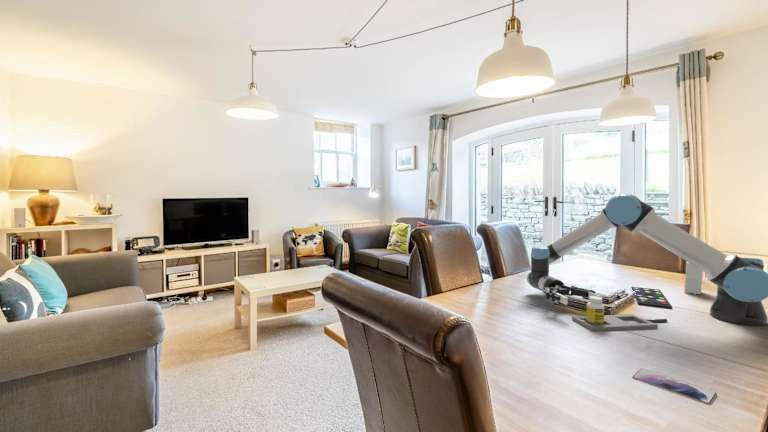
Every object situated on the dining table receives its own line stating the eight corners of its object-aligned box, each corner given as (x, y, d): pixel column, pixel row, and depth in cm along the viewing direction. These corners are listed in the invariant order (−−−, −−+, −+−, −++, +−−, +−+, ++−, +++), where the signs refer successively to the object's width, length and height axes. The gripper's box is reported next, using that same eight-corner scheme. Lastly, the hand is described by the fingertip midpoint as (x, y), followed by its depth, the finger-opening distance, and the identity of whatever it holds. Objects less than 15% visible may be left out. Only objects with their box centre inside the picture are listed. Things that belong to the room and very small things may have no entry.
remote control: (638, 306, 148) (638, 301, 148) (631, 289, 175) (631, 285, 174) (671, 310, 143) (672, 305, 143) (659, 292, 169) (659, 288, 169)
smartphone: (710, 404, 77) (631, 376, 89) (710, 407, 77) (631, 379, 89) (717, 392, 82) (641, 367, 93) (717, 395, 82) (641, 370, 94)
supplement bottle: (595, 328, 123) (595, 300, 122) (582, 322, 128) (583, 296, 127) (607, 326, 124) (608, 299, 124) (594, 321, 129) (595, 294, 129)
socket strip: (653, 316, 134) (653, 312, 134) (680, 327, 123) (680, 322, 123) (572, 319, 131) (572, 315, 131) (592, 331, 120) (592, 326, 120)
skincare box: (684, 289, 172) (685, 259, 171) (701, 291, 168) (702, 260, 167) (684, 293, 165) (685, 261, 165) (701, 295, 161) (702, 263, 161)
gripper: (578, 293, 154) (614, 309, 133) (523, 295, 152) (551, 311, 130) (579, 276, 153) (615, 289, 132) (524, 278, 151) (552, 291, 130)
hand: (584, 300), depth 131 cm, fingers open, 13 cm apart
